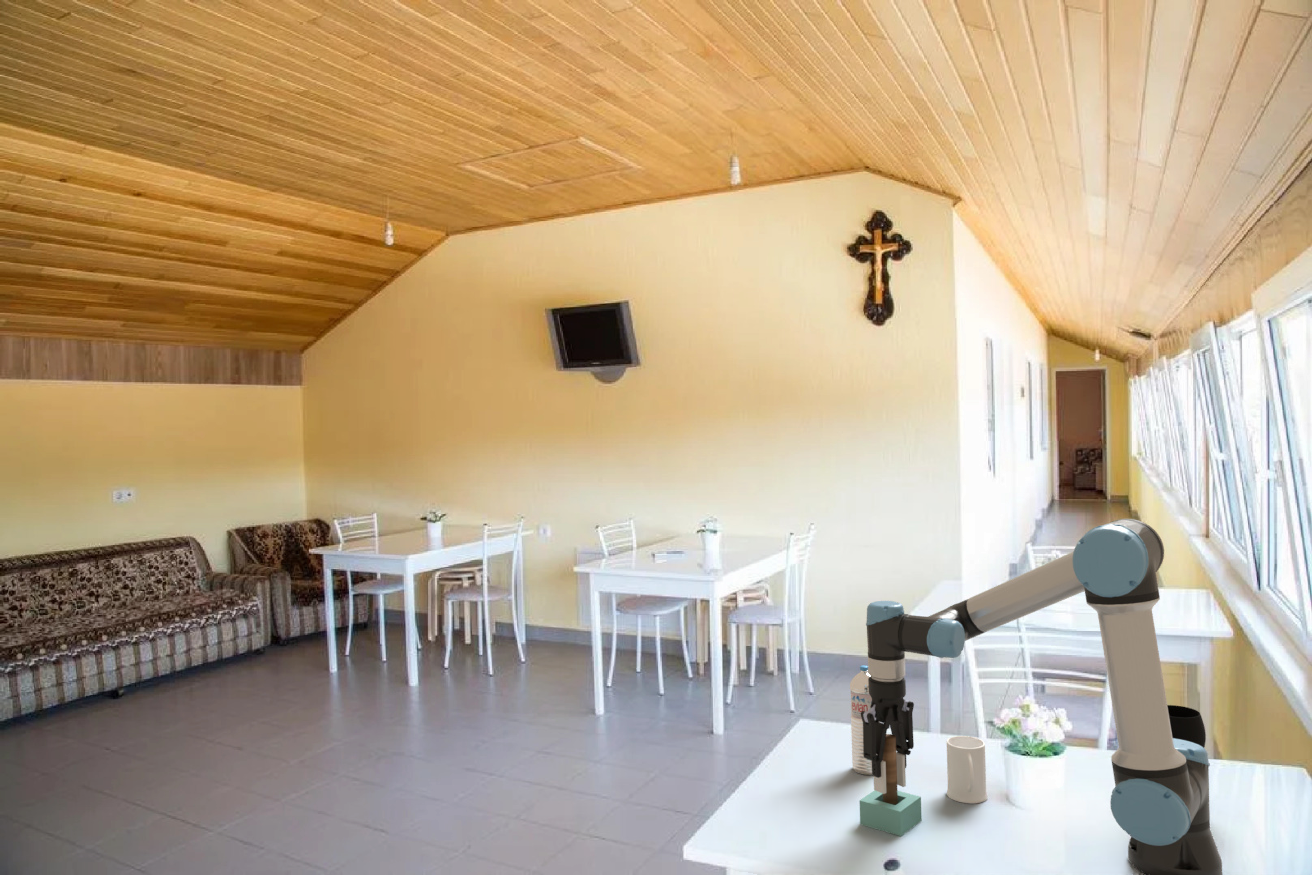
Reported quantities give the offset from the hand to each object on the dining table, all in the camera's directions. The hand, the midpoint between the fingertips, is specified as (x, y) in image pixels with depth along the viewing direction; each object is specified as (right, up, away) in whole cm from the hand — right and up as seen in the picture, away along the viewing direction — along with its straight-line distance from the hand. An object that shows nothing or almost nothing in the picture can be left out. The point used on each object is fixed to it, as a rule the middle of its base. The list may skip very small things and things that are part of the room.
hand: (889, 787), depth 192 cm
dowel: (0, -7, 0) cm, 7 cm away
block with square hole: (0, -7, 0) cm, 7 cm away
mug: (+20, -7, +11) cm, 23 cm away
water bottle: (+2, -7, +29) cm, 30 cm away
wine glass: (+62, -5, +4) cm, 63 cm away
